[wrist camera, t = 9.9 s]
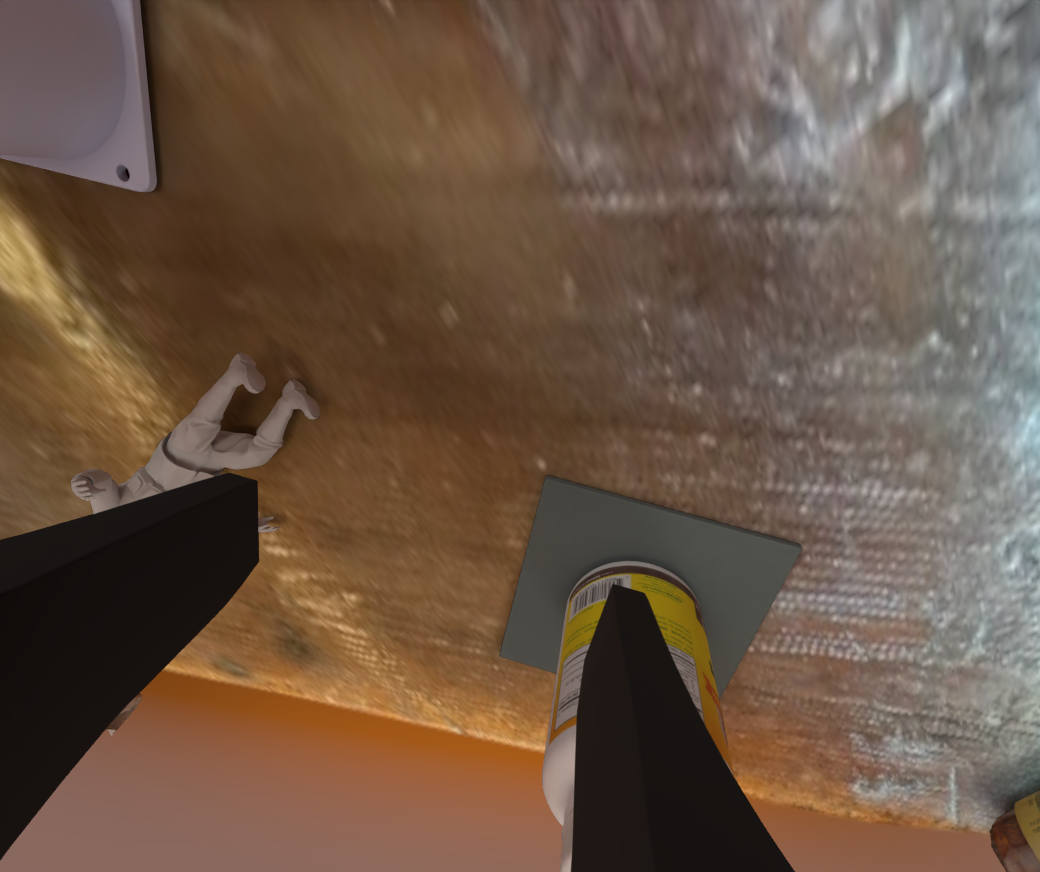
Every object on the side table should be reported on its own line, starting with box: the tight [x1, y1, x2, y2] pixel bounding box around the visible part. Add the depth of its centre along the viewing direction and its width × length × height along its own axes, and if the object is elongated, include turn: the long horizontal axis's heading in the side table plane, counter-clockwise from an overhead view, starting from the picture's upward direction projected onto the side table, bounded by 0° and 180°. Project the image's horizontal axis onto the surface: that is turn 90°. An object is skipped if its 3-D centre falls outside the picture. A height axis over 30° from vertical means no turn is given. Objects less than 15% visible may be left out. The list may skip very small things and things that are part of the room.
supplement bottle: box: [542, 561, 734, 872], centre depth 17 cm, size 6×6×10 cm
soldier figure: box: [71, 352, 320, 532], centre depth 21 cm, size 8×5×12 cm
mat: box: [499, 475, 802, 699], centre depth 22 cm, size 10×10×1 cm
